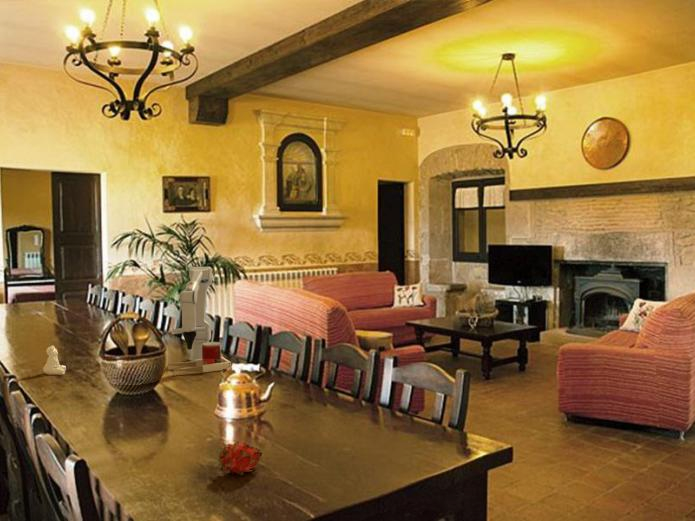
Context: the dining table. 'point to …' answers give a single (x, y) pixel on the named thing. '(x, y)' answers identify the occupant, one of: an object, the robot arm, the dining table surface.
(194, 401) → the dining table surface
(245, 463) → the dragon fruit
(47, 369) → the white creature statuette
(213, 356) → the canned food
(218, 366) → the open frame
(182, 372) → the rail channel
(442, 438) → the dining table surface
